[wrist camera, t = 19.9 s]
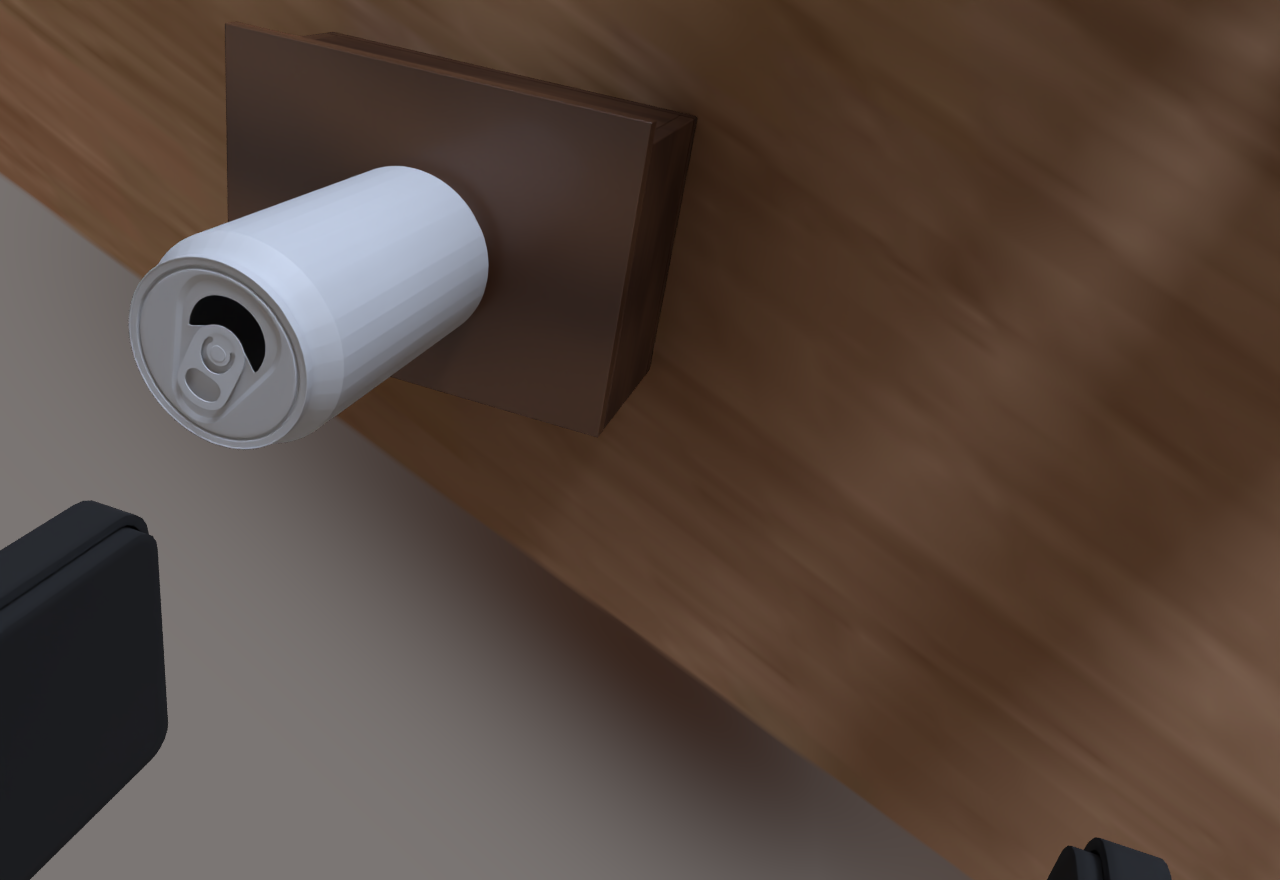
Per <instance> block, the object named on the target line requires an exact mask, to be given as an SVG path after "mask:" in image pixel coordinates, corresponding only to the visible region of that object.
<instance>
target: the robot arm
mask: <svg viewBox="0 0 1280 880" xmlns="http://www.w3.org/2000/svg"><path fill="white" fill-rule="evenodd" d="M165 683H166V682H165V665H164V649H163V632H162V615H161V599H160V582H159V565H158V549H157V544H156V540H155V539H154V538H153V536H151V535H149V533H148V528H147V525H146V523H145V522H144V520H143V519H142V518H140V517H138V516H136V515H134V514H131V513H128V512H124V511H122V510H119V509H116V508H113V507H110V506H107V505H104V504H101V503H98V502H95V501H82V502H80V503H78V504H75V505H73V506H72V507H70V508H68V509H67V510H65V511H63V512H62V513H60V514H59V515H57V516H55V517H54V518H52V519H50V520H49V521H47V522H46V523H44V524H42V525H41V526H39V527H38V528H36V529H34V530H33V531H31V532H29V533H28V534H26V535H25V536H23V537H21V538H20V539H18V540H17V541H15V542H13V543H12V544H10V545H9V546H7V547H5V548H4V549H2V550H0V880H30V879H31V878H32V877H33V876H34V875H35V874H36V873H37V872H38V871H39V870H40V869H41V868H42V867H43V866H44V865H45V864H46V863H47V862H48V861H49V860H50V859H51V858H52V857H53V856H54V855H55V854H56V853H57V852H58V851H59V850H60V849H61V848H62V847H63V846H64V845H65V844H66V843H67V842H68V841H69V840H70V839H71V838H72V837H73V836H74V835H75V834H77V833H78V832H79V831H80V830H81V829H82V828H83V827H84V826H85V825H86V824H87V823H88V822H89V821H90V820H91V819H92V817H94V816H95V814H97V813H98V812H99V811H100V810H101V809H102V808H103V807H104V806H105V805H106V804H107V803H108V802H109V801H110V800H111V799H112V798H113V797H114V796H115V795H116V794H117V793H118V792H119V791H120V790H121V789H122V788H123V787H124V786H125V785H126V784H127V783H128V782H129V781H130V780H131V779H132V778H133V777H134V776H135V775H136V774H137V773H138V772H139V771H140V770H141V769H142V768H143V767H144V766H145V765H146V764H147V763H148V762H149V761H150V760H151V759H152V758H153V757H154V756H155V755H156V753H157V752H158V750H159V749H160V747H161V745H162V743H163V741H164V739H165V736H166V733H167V728H168V717H167V716H168V715H167V701H166V700H167V698H166V684H165ZM1047 880H1172V879H1171V875H1170V872H1169V869H1168V866H1167V864H1166V863H1165V862H1164V860H1163V859H1161V858H1158V857H1155V856H1152V855H1149V854H1146V853H1143V852H1140V851H1137V850H1134V849H1131V848H1128V847H1125V846H1122V845H1119V844H1116V843H1113V842H1110V841H1107V840H1104V839H1101V838H1093V839H1092V840H1091V841H1089V843H1088V844H1087V846H1086V847H1085V849H1084V850H1082V849H1079V848H1076V847H1073V846H1067V847H1066V848H1064V849H1063V851H1062V853H1061V854H1060V856H1059V858H1058V860H1057V862H1056V863H1055V865H1054V867H1053V869H1052V871H1051V873H1050V875H1049V877H1048V879H1047Z"/></svg>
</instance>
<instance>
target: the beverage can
mask: <svg viewBox="0 0 1280 880" xmlns="http://www.w3.org/2000/svg"><path fill="white" fill-rule="evenodd" d="M487 278H488V253H487V247H486V243H485V239H484V236H483V233H482V230H481V228H480V226H479V224H478V222H477V220H476V218H475V216H474V215H473V213H472V211H471V209H470V208H469V207H468V205H467V204H466V203H465V201H464V200H463V199H462V198H461V197H460V196H459V195H458V194H457V193H456V192H455V191H454V190H453V189H452V188H451V187H450V186H448V185H447V184H446V183H444V182H443V181H441V180H440V179H438V178H436V177H435V176H433V175H431V174H429V173H426V172H424V171H421V170H418V169H415V168H410V167H404V166H386V167H381V168H376V169H373V170H370V171H368V172H365V173H362V174H359V175H357V176H354V177H351V178H349V179H346V180H343V181H340V182H338V183H335V184H332V185H329V186H327V187H324V188H321V189H318V190H316V191H313V192H310V193H307V194H305V195H302V196H299V197H296V198H294V199H291V200H288V201H285V202H283V203H280V204H277V205H275V206H272V207H269V208H266V209H264V210H261V211H258V212H255V213H253V214H250V215H247V216H244V217H242V218H239V219H236V220H233V221H231V222H228V223H225V224H222V225H220V226H217V227H214V228H211V229H209V230H206V231H203V232H201V233H198V234H195V235H192V236H190V237H188V238H186V239H183V240H182V241H180V242H179V243H177V244H176V245H175V246H173V247H172V248H171V249H170V250H169V251H168V252H167V253H166V254H165V256H164V257H163V258H162V259H161V261H160V262H159V264H158V265H157V266H156V267H154V268H153V269H151V270H150V271H149V272H148V273H147V274H146V275H145V276H144V278H143V279H142V280H141V281H140V283H139V284H138V286H137V288H136V290H135V292H134V294H133V297H132V301H131V305H130V310H129V323H128V326H129V338H130V344H131V348H132V352H133V356H134V359H135V362H136V364H137V367H138V369H139V372H140V374H141V376H142V378H143V380H144V382H145V383H146V385H147V387H148V389H149V390H150V392H151V393H152V394H153V396H154V397H155V399H156V400H157V401H158V403H159V404H160V405H161V406H162V407H163V408H164V410H165V411H166V412H167V413H168V414H169V415H170V416H171V417H172V418H174V420H176V421H177V422H178V423H179V424H180V425H182V426H183V427H184V428H186V429H187V430H188V431H190V432H191V433H193V434H195V435H196V436H198V437H200V438H202V439H204V440H206V441H208V442H211V443H213V444H216V445H219V446H222V447H226V448H232V449H242V450H249V449H257V448H262V447H265V446H268V445H271V444H276V443H287V442H291V441H295V440H298V439H301V438H303V437H306V436H308V435H309V434H311V433H313V432H314V431H316V430H317V429H318V428H320V427H321V426H323V425H324V424H325V423H327V422H328V421H330V420H331V419H332V418H334V417H335V416H336V415H338V414H339V413H341V412H342V411H343V410H345V409H346V408H347V407H349V406H350V405H352V404H353V403H354V402H356V401H357V400H358V399H360V398H361V397H363V396H364V395H365V394H367V393H368V392H369V391H371V390H372V389H374V388H375V387H376V386H378V385H379V384H380V383H382V382H383V381H385V380H386V379H387V378H389V377H390V376H391V375H393V374H394V373H396V372H397V371H398V370H400V369H401V368H402V367H404V366H405V365H407V364H408V363H409V362H411V361H412V360H413V359H415V358H416V357H418V356H419V355H420V354H422V353H423V352H424V351H426V350H427V349H429V348H430V347H431V346H433V345H434V344H435V343H437V342H438V341H440V340H441V339H442V338H444V337H445V336H446V335H448V334H449V333H451V332H452V331H453V330H455V329H456V328H457V327H459V326H460V325H461V324H463V323H464V322H465V321H466V320H467V319H468V318H469V317H470V316H471V315H472V314H473V312H474V311H475V310H476V308H477V307H478V305H479V303H480V301H481V299H482V297H483V294H484V291H485V288H486V283H487Z"/></svg>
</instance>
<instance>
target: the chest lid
mask: <svg viewBox="0 0 1280 880" xmlns="http://www.w3.org/2000/svg"><path fill="white" fill-rule="evenodd" d="M225 56H226V122H227V187H228V222H231V221H233V220H236V219H239V218H242V217H244V216H247V215H250V214H253V213H255V212H258V211H261V210H264V209H266V208H269V207H272V206H275V205H277V204H280V203H283V202H285V201H288V200H291V199H294V198H296V197H299V196H302V195H305V194H307V193H310V192H313V191H316V190H318V189H321V188H324V187H327V186H329V185H332V184H335V183H338V182H340V181H343V180H346V179H349V178H351V177H354V176H357V175H359V174H362V173H365V172H368V171H370V170H373V169H376V168H381V167H386V166H404V167H410V168H415V169H418V170H421V171H424V172H426V173H429V174H431V175H433V176H435V177H436V178H438V179H440V180H441V181H443V182H444V183H446V184H447V185H448V186H450V187H451V188H452V189H453V190H454V191H455V192H456V193H457V194H458V195H459V196H460V197H461V198H462V199H463V200H464V201H465V203H466V204H467V205H468V207H469V208H470V209H471V211H472V213H473V215H474V216H475V218H476V220H477V222H478V224H479V226H480V228H481V230H482V233H483V236H484V239H485V243H486V247H487V253H488V278H487V283H486V288H485V291H484V294H483V297H482V299H481V301H480V303H479V305H478V307H477V308H476V310H475V311H474V312H473V314H472V315H471V316H470V317H469V318H468V319H467V320H466V321H465V322H464V323H463V324H461V325H460V326H459V327H457V328H456V329H455V330H453V331H452V332H451V333H449V334H448V335H446V336H445V337H444V338H442V339H441V340H440V341H438V342H437V343H435V344H434V345H433V346H431V347H430V348H429V349H427V350H426V351H424V352H423V353H422V354H420V355H419V356H418V357H416V358H415V359H413V360H412V361H411V362H409V363H408V364H407V365H405V366H404V367H402V368H401V369H400V370H398V371H397V372H396V373H394V374H393V375H391V376H390V377H393V378H397V379H400V380H403V381H407V382H410V383H414V384H417V385H421V386H424V387H427V388H431V389H434V390H438V391H441V392H444V393H448V394H451V395H455V396H458V397H461V398H465V399H468V400H472V401H475V402H478V403H482V404H485V405H489V406H492V407H496V408H499V409H502V410H506V411H509V412H513V413H516V414H519V415H523V416H526V417H530V418H533V419H536V420H540V421H543V422H547V423H550V424H553V425H557V426H560V427H564V428H567V429H571V430H574V431H577V432H581V433H584V434H588V435H591V436H594V437H598V436H599V435H600V434H601V432H602V431H603V428H604V422H605V417H606V411H607V405H608V399H609V394H610V388H611V382H612V377H613V371H614V365H615V359H616V354H617V348H618V342H619V336H620V331H621V325H622V319H623V313H624V308H625V302H626V296H627V290H628V285H629V279H630V273H631V267H632V262H633V256H634V250H635V244H636V239H637V233H638V227H639V221H640V216H641V210H642V204H643V198H644V193H645V187H646V181H647V175H648V170H649V164H650V158H651V152H652V147H653V141H654V135H655V129H656V124H657V120H654V119H650V118H646V117H641V116H637V115H633V114H629V113H624V112H620V111H616V110H612V109H607V108H603V107H599V106H594V105H590V104H586V103H582V102H577V101H573V100H569V99H565V98H560V97H556V96H552V95H548V94H543V93H539V92H535V91H530V90H526V89H522V88H518V87H513V86H509V85H505V84H501V83H496V82H492V81H488V80H483V79H479V78H475V77H471V76H466V75H462V74H458V73H454V72H449V71H445V70H441V69H436V68H432V67H428V66H424V65H419V64H415V63H411V62H407V61H402V60H398V59H394V58H390V57H385V56H381V55H377V54H372V53H368V52H364V51H360V50H355V49H351V48H347V47H343V46H338V45H334V44H330V43H325V42H321V41H317V40H313V39H308V38H304V37H300V36H296V35H291V34H287V33H283V32H279V31H274V30H270V29H266V28H261V27H257V26H253V25H249V24H244V23H240V22H228V23H225Z"/></svg>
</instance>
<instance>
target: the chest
mask: <svg viewBox="0 0 1280 880" xmlns="http://www.w3.org/2000/svg"><path fill="white" fill-rule="evenodd" d="M300 37H304V38H308V39H313V40H317V41H321V42H325V43H330V44H334V45H338V46H343V47H347V48H351V49H355V50H360V51H364V52H368V53H372V54H377V55H381V56H385V57H390V58H394V59H398V60H402V61H407V62H411V63H415V64H419V65H424V66H428V67H432V68H436V69H441V70H445V71H449V72H454V73H458V74H462V75H466V76H471V77H475V78H479V79H483V80H488V81H492V82H496V83H501V84H505V85H509V86H513V87H518V88H522V89H526V90H530V91H535V92H539V93H543V94H548V95H552V96H556V97H560V98H565V99H569V100H573V101H577V102H582V103H586V104H590V105H594V106H599V107H603V108H607V109H612V110H616V111H620V112H624V113H629V114H633V115H637V116H641V117H646V118H650V119H654V120H657V124H656V129H655V135H654V141H653V147H652V152H651V158H650V164H649V170H648V175H647V181H646V187H645V193H644V198H643V204H642V210H641V216H640V221H639V227H638V233H637V239H636V244H635V250H634V256H633V262H632V267H631V273H630V279H629V285H628V290H627V296H626V302H625V308H624V313H623V319H622V325H621V331H620V336H619V342H618V348H617V354H616V359H615V365H614V371H613V377H612V382H611V388H610V394H609V399H608V405H607V411H606V417H605V422H604V428H605V427H606V425H607V424H608V423H609V422H610V420H611V419H612V418H613V416H614V415H615V414H616V412H617V411H618V410H619V409H620V407H621V406H622V405H623V403H624V402H625V401H626V400H627V398H628V397H629V396H630V394H631V393H632V392H633V390H634V389H635V388H636V387H637V385H638V384H639V383H640V381H641V380H642V379H643V377H644V376H645V375H646V374H647V372H648V371H649V369H650V364H651V359H652V354H653V348H654V343H655V338H656V333H657V327H658V322H659V317H660V312H661V306H662V301H663V296H664V291H665V285H666V280H667V275H668V270H669V264H670V259H671V254H672V249H673V243H674V238H675V233H676V228H677V222H678V217H679V212H680V207H681V201H682V196H683V191H684V186H685V180H686V175H687V170H688V165H689V159H690V154H691V149H692V144H693V138H694V133H695V128H696V123H697V117H696V116H693V115H689V114H684V113H680V112H676V111H672V110H667V109H663V108H659V107H654V106H650V105H646V104H641V103H637V102H633V101H628V100H624V99H620V98H615V97H611V96H607V95H603V94H598V93H594V92H590V91H585V90H581V89H577V88H572V87H568V86H564V85H559V84H555V83H551V82H546V81H542V80H538V79H534V78H529V77H525V76H521V75H516V74H512V73H508V72H503V71H499V70H495V69H490V68H486V67H482V66H477V65H473V64H469V63H465V62H460V61H456V60H452V59H447V58H443V57H439V56H434V55H430V54H426V53H421V52H417V51H413V50H408V49H404V48H400V47H396V46H391V45H387V44H383V43H378V42H374V41H370V40H365V39H361V38H357V37H352V36H348V35H344V34H339V33H335V32H330V33H323V34H315V35H308V36H300ZM604 428H603V429H604Z"/></svg>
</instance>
